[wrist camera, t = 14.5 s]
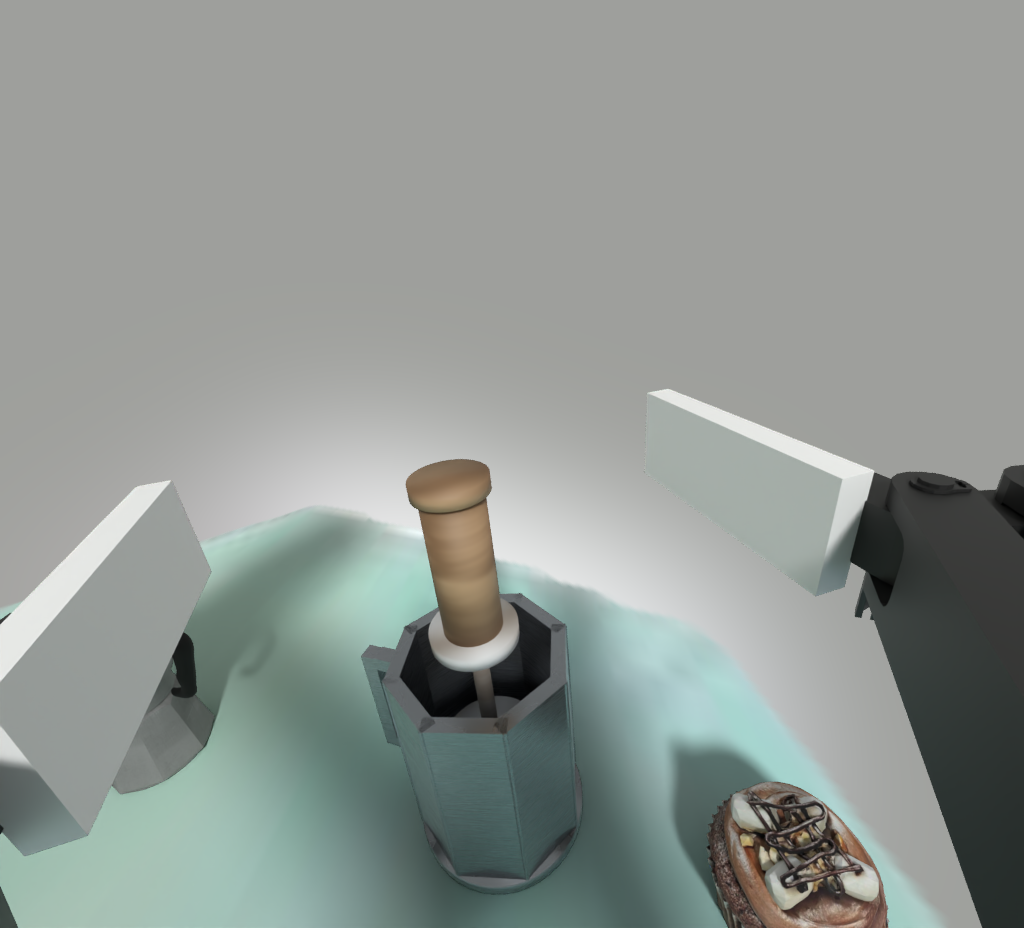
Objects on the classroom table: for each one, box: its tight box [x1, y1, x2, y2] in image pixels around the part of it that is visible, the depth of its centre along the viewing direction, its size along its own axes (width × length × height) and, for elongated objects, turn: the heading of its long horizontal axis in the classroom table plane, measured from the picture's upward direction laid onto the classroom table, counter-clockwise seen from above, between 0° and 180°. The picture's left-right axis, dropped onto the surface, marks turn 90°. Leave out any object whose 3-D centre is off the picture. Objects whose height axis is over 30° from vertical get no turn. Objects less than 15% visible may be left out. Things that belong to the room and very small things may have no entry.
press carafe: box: [361, 593, 583, 894], centre depth 37 cm, size 16×13×16 cm
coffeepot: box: [112, 632, 215, 794], centre depth 43 cm, size 15×9×18 cm, turn 83°
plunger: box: [406, 459, 520, 718], centre depth 32 cm, size 8×8×23 cm
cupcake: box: [706, 782, 889, 928], centre depth 29 cm, size 10×10×10 cm
